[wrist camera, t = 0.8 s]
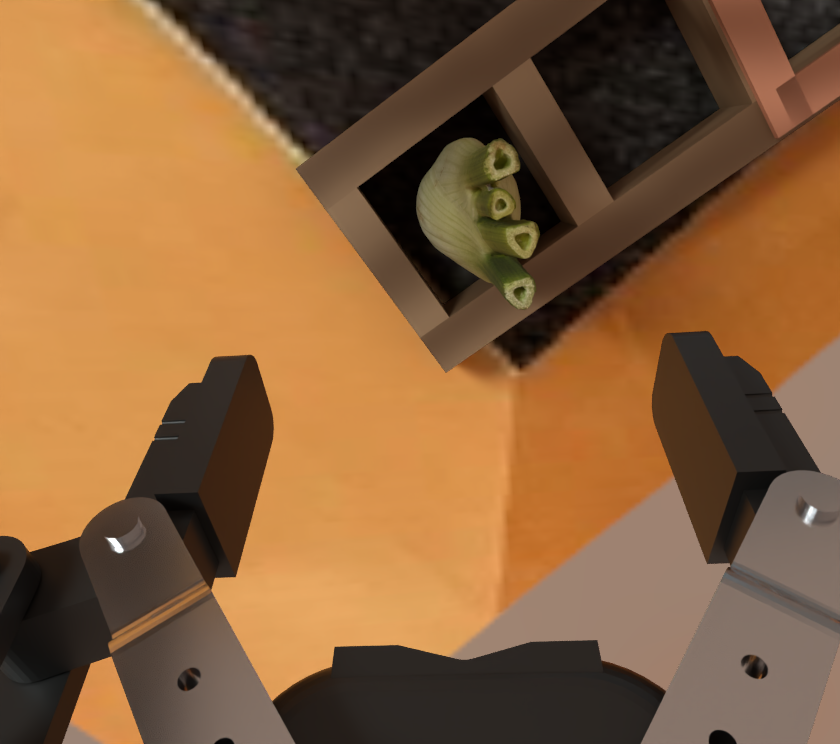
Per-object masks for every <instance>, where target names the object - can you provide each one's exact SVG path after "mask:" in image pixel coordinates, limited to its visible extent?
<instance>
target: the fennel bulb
mask: <svg viewBox="0 0 840 744" xmlns="http://www.w3.org/2000/svg"><path fill="white" fill-rule="evenodd" d="M519 170H520V161H519V158H518V154H517V152H516V150H515V148H514V147H513V146H512V145H510V144H509V143H507V142H506V141H505V140H503V139H501V138H499V139H497V140H493V141H492V142H491V143H488V144H487V146H485V145H483V144H482V143H481V142H480V141H478V140H477V139H474V138H462V139H459V140H456V141H454V142H452V143H450V144H448V145H447V146H446V147H445V148H444V149H443V151H442V152H441V153H440V155H439V156H438V158H437V160H436V161H435V163H434V164H433V166H432V167H431V168H430V169H429V171H428V172H427V173H426V175H425V176H424V177H423V179H422V181H421V183H420V186H419V189H418V194H417V201H416V212H417V216H418V220H419V223H420V226H421V228H422V231H423V232H424V234H425V235H426V237H427V238H428V239H429V241H430V242H431V243H432V245H433V246H434V247H435V248H436V249H437V250H439V251H440V252H441V253H443V254H444V255H446V256H447V257H449V258H450V259H452V260H453V261H455V262H456V263H457V264H459V265H460V266H462V267H463V268H465V269H467V270H468V271H470V272H471V273H473V274H474V275H476V276H477V277H479V278H481V279H482V280H484V281H486V282H488V283H492V284H493V285H494V286H495V287H496V288H497V289H498V290H499V292H500V293H501V294H502V296H503V297H504V298H505V300H507V301H508V302H509V303H510V305H512V306H514V307H515V308H516V309H520V310H525V309H528V308H529V307H530V305H531V304H532V299H533V296H534V293H535V292H536V284H535V280H534V278H533V277H532V276H531V275H530V274H529V273H528V272H527V271H526V270H525V269H524V268H523V266H522V265H521V264H520V263H519V261H518V260H517V258H521V259H527V258H529V257H531V255H532V254H533V252H534V250H535V248H536V245H537V243H538V239H539V237H540V231H539V228H538V226H537V224H536V223H535V222H533V221H526V220H524V219H523V220H520V215H521V204H520V196H519V192H518V187H517V184H516V181H515V179H514V177H513V175H512V174H514V173H516V172H518V171H519ZM516 257H517V258H516Z"/></svg>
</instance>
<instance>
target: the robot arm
mask: <svg viewBox="0 0 840 744" xmlns="http://www.w3.org/2000/svg"><path fill="white" fill-rule="evenodd" d="M652 412H653V419H654V423H655V426H656V429H657V432H658V434H659V437H660V440H661V442H662V445H663V448H664V450H665V453H666V456H667V458H668V461H669V464H670V466H671V469H672V472H673V474H674V477H675V480H676V482H677V485H678V488H679V490H680V493H681V496H682V498H683V501H684V504H685V506H686V509H687V512H688V514H689V517H690V520H691V522H692V525H693V528H694V530H695V533H696V536H697V538H698V541H699V543H700V546H701V549H702V552H703V554H704V557H705V559H706V562H707V564H714V563H715V564H717V563H730V565H731V567H728V568H727V570H726V571H725V573H724V575H723V577H722V579H721V581H720V583H719V585H718V587H717V589H716V591H715V593H714V596H713V597H712V599H711V601H710V604H709V606H708V608H707V610H706V612H705V614H704V616H703V618H702V620H701V622H700V624H699V626H698V628H697V630H696V632H695V634H694V636H693V638H692V640H691V642H690V644H689V646H688V649H687V651H686V653H685V654H684V657H683V659H682V661H681V663H680V665H679V667H678V669H677V671H676V673H675V675H674V677H673V679H672V681H671V683H670V685H669V687H668V689H667V691H665V690H664V689H662V688H661V687H660V686H658V685H656V684H655V683H653V682H651V681H650V680H649V679H647V678H645V677H644V676H641V675H639V674H637V673H635V672H633V671H631V670H629V669H627V668H624V667H621V666H618V665H615V664H613V663H609V662H605V661H601V656H600V652H599V647H598V642H597V640H588V641H549V642H530V643H526V644H522V645H519V646H516V647H512V648H508V649H505V650H501V651H498V652H495V653H491V654H488V655H484V656H481V657H477V658H474V659H469V660H459V659H454V658H450V657H446V656H442V655H437V654H433V653H429V652H425V651H420V650H416V649H412V648H408V647H403V646H399V645H387V646H347V647H335V648H334V656H333V664H332V667H330V668H327V669H324V670H321V671H319V672H317V673H314V674H312V675H310V676H308V677H306V678H304V679H302V680H300V681H299V682H297V683H295V684H294V685H292V686H291V687H289V688H288V689H287V690H285V691H284V692H282V693H281V694H280V695H279V696H278V697H276V698H275V699H274V700H273V701H271V699H270V697H269V695H268V693H267V691H266V690H265V688H264V686H263V684H262V682H261V681H260V679H259V677H258V675H257V673H256V671H255V670H254V668H253V666H252V664H251V662H250V661H249V659H248V657H247V655H246V653H245V651H244V650H243V648H242V646H241V644H240V642H239V641H238V639H237V637H236V635H235V633H234V631H233V630H232V628H231V626H230V624H229V622H228V621H227V619H226V617H225V615H224V613H223V611H222V610H221V608H220V606H219V604H218V602H217V601H216V599H215V597H214V595H213V593H212V592H211V589H212V585H213V582H214V579H215V578H223V577H236V574H237V570H238V567H239V563H240V559H241V556H242V552H243V548H244V544H245V541H246V537H247V533H248V530H249V526H250V522H251V519H252V515H253V511H254V507H255V504H256V500H257V496H258V493H259V489H260V485H261V482H262V478H263V474H264V470H265V467H266V463H267V459H268V456H269V452H270V448H271V444H272V440H273V430H274V426H273V415H272V411H271V407H270V404H269V401H268V397H267V394H266V391H265V387H264V384H263V381H262V378H261V374H260V371H259V368H258V364H257V362H256V359H255V358H254V356H252V355H240V356H222V357H214V358H213V359H212V360H211V362H210V364H209V367H208V369H207V371H206V374H205V376H204V378H203V381H202V383H189V384H188V385H187V386H186V387H185V388H184V389H183V390H182V391H181V392H180V393H179V394H178V395H177V396H176V397H175V398H174V399H173V400H172V401H171V402H170V405H169V407H168V409H167V411H166V413H165V415H164V417H163V419H162V425H160V426H159V428H158V430H157V432H156V434H155V437H154V438H155V440H154V441H152V443H151V445H150V447H149V449H148V451H147V454H146V456H145V458H144V460H143V462H142V464H141V466H140V468H139V471H138V473H137V475H136V477H135V479H134V481H133V483H132V486H131V488H130V490H129V492H128V494H127V496H126V498H125V500H122V501H119V502H117V503H115V504H112V505H110V506H109V507H107V508H105V509H104V510H102V511H101V512H100V513H98V514H97V515H96V516H95V517H94V518H93V519H92V520H91V521H90V522H89V523H88V525H87V526H86V528H85V529H84V531H83V533H82V535H81V537H78V538H75V539H72V540H69V541H66V542H62V543H59V544H56V545H52V546H49V547H46V548H42V549H39V550H36V551H32V552H29V551H28V550H27V548H26V547H25V546H24V544H23V543H22V542H21V541H20V540H18V539H16V538H14V537H9V536H0V744H62V742H63V739H64V736H65V734H66V731H67V728H68V725H69V723H70V720H71V717H72V714H73V711H74V709H75V706H76V703H77V700H78V697H79V695H80V692H81V689H82V686H83V683H84V681H85V678H86V675H87V672H88V669H89V667H90V664H91V663H93V662H96V661H99V660H102V659H105V658H108V657H111V656H112V659H113V662H114V664H115V667H116V670H117V672H118V675H119V678H120V680H121V683H122V686H123V689H124V691H125V694H126V697H127V699H128V702H129V705H130V707H131V710H132V713H133V716H134V718H135V721H136V724H137V726H138V729H139V732H140V735H141V737H142V740H143V743H144V744H807V743H808V740H809V737H810V733H811V730H812V727H813V724H814V721H815V718H816V714H817V712H818V708H819V705H820V702H821V699H822V696H823V693H824V690H825V687H826V683H827V680H828V677H829V674H830V671H831V668H832V665H833V662H834V658H835V655H836V652H837V649H838V645H839V643H840V480H839V479H837V478H834V477H832V476H829V475H826V474H823V473H821V472H820V471H819V469H818V467H817V466H816V464H815V462H814V461H813V459H812V457H811V456H810V454H809V453H808V451H807V449H806V448H805V446H804V444H803V443H802V441H801V439H800V438H799V436H798V434H797V433H796V431H795V429H794V428H793V426H792V425H791V423H790V421H789V420H788V418H787V416H786V415H785V414H784V413H782V408H781V407H780V405H779V403H778V402H777V400H776V398H775V397H772V392H771V390H770V388H769V387H768V385H767V383H766V382H765V380H764V379H763V377H762V375H761V374H760V372H758V371H757V370H756V369H754V368H753V367H752V366H750V365H749V364H748V363H747V362H745V361H744V360H743V359H741V358H740V357H739V356H728V357H724V356H723V355H722V353H721V351H720V349H719V348H718V346H717V344H716V342H715V340H714V339H713V337H712V335H711V334H710V333H709V332H708V331H700V332H682V333H667V334H666V335H665V336H664V338H663V341H662V346H661V351H660V356H659V362H658V367H657V372H656V378H655V383H654V388H653V394H652Z"/></svg>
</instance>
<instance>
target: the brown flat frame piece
mask: <svg viewBox="0 0 840 744" xmlns="http://www.w3.org/2000/svg"><path fill="white" fill-rule="evenodd" d="M606 1H607V0H516V1H515V2H513V3H512V4H511V5H509V6H508V7H507V8H506V9H504V10H503V11H502V12H500V13H499V14H498V15H496V16H495V17H494V18H492V19H491V20H490V21H488V22H487V23H486V24H485V25H483V26H482V27H481V28H479V29H478V30H477V31H475V32H474V33H473V34H471V35H470V36H469V37H468V38H466V39H465V40H464V41H462V42H461V43H460V44H458V45H457V46H456V47H454V48H453V49H452V50H451V51H449V52H448V53H447V54H445V55H444V56H443V57H441V58H440V59H439V60H437V61H436V62H435V63H434V64H432V65H431V66H430V67H428V68H427V69H426V70H424V71H423V72H422V73H420V74H419V75H418V76H416V77H415V78H414V79H413V80H411V81H410V82H409V83H407V84H406V85H405V86H403V87H402V88H401V89H399V90H398V91H397V92H396V93H394V94H393V95H392V96H390V97H389V98H388V99H386V100H385V101H384V102H382V103H381V104H380V105H379V106H377V107H376V108H375V109H373V110H372V111H371V112H369V113H368V114H367V115H365V116H364V117H363V118H362V119H360V120H359V121H358V122H356V123H355V124H354V125H352V126H351V127H350V128H348V129H347V130H346V131H344V132H343V133H342V134H341V135H339V136H338V137H337V138H335V139H334V140H333V141H331V142H330V143H329V144H327V145H326V146H325V147H324V148H322V149H321V150H320V151H318V152H317V153H316V154H314V155H313V156H312V157H310V158H309V159H308V160H307V161H305V162H304V163H303V164H301V165H300V166H299V167H297V168H296V170H297V171H298V173H299V174H300V176H301V177H302V178H303V180H304V181H305V182H306V184H307V185H308V186H309V188H310V189H311V190H312V192H313V193H314V195H315V196H316V197H317V199H318V200H319V201H320V203H321V204H322V205H323V207H324V208H325V209H326V211H327V212H328V214H329V215H330V216H331V218H332V219H333V220H334V222H335V223H336V224H337V226H338V227H339V228H340V230H341V231H342V232H343V234H344V235H345V237H346V238H347V239H348V241H349V242H350V243H351V245H352V246H353V247H354V249H355V250H356V251H357V253H358V254H359V256H360V257H361V258H362V260H363V261H364V262H365V264H366V265H367V266H368V268H369V269H370V270H371V272H372V273H373V275H374V276H375V277H376V279H377V280H378V281H379V283H380V284H381V285H382V287H383V288H384V289H385V291H386V292H387V294H388V295H389V296H390V298H391V299H392V300H393V302H394V303H395V304H396V306H397V307H398V308H399V310H400V311H401V313H402V314H403V315H404V317H405V318H406V319H407V321H408V322H409V323H410V325H411V326H412V327H413V329H414V330H415V332H416V333H417V334H418V336H419V337H420V338H421V340H422V341H423V342H424V344H425V345H426V346H427V348H428V349H429V351H430V352H431V353H432V355H433V356H434V357H435V359H436V360H437V361H438V363H439V364H440V365H441V367H442V368H443V369H444V371H445V372H448V371H449V370H451V369H452V368H454V367H455V366H456V365H458V364H459V363H461V362H462V361H464V360H465V359H467V358H468V357H469V356H471V355H472V354H474V353H475V352H477V351H478V350H480V349H481V348H482V347H484V346H485V345H487V344H488V343H490V342H491V341H493V340H494V339H495V338H497V337H498V336H500V335H501V334H503V333H504V332H505V331H507V330H508V329H510V328H511V327H513V326H514V325H516V324H517V323H518V322H520V321H521V320H523V319H524V318H526V317H527V316H529V315H530V314H531V313H533V312H534V311H536V310H537V309H539V308H540V307H542V306H543V305H544V304H546V303H547V302H549V301H550V300H552V299H553V298H555V297H556V296H557V295H559V294H560V293H562V292H563V291H565V290H566V289H567V288H569V287H570V286H572V285H573V284H575V283H576V282H578V281H579V280H580V279H582V278H583V277H585V276H586V275H588V274H589V273H591V272H592V271H593V270H595V269H596V268H598V267H599V266H601V265H602V264H604V263H605V262H606V261H608V260H609V259H611V258H612V257H614V256H615V255H617V254H618V253H619V252H621V251H622V250H624V249H625V248H627V247H628V246H629V245H631V244H632V243H634V242H635V241H637V240H638V239H640V238H641V237H642V236H644V235H645V234H647V233H648V232H650V231H651V230H653V229H654V228H655V227H657V226H658V225H660V224H661V223H663V222H664V221H666V220H667V219H668V218H670V217H671V216H673V215H674V214H676V213H677V212H679V211H680V210H681V209H683V208H684V207H686V206H687V205H689V204H690V203H691V202H693V201H694V200H696V199H697V198H699V197H700V196H702V195H703V194H704V193H706V192H707V191H709V190H710V189H712V188H713V187H715V186H716V185H717V184H719V183H720V182H722V181H723V180H725V179H726V178H728V177H729V176H730V175H732V174H733V173H735V172H736V171H738V170H739V169H741V168H742V167H743V166H745V165H746V164H748V163H749V162H751V161H752V160H753V159H755V158H756V157H758V156H759V155H761V154H762V153H764V152H765V151H766V150H768V149H769V148H771V147H772V146H774V145H775V144H777V143H778V142H779V141H781V140H782V139H784V138H785V137H787V136H788V135H790V134H791V133H792V132H794V131H795V130H797V129H798V128H800V127H801V126H803V125H804V124H805V123H807V122H808V121H810V120H811V119H813V118H814V117H815V116H817V115H818V114H820V113H821V112H823V111H824V110H826V109H827V108H828V107H830V106H831V105H833V104H834V103H836V102H837V101H839V100H840V24H838V25H837V26H836V27H834V28H833V29H831V30H830V31H829V32H827V33H826V34H824V35H823V36H822V37H820V38H819V39H817V40H816V41H814V42H813V43H812V44H810V45H809V46H807V47H806V48H805V49H803V50H802V51H800V52H799V53H798V54H796V55H795V56H793V57H792V58H790V59H789V60H788V59H787V57H786V54H785V52H784V50H783V48H782V46H781V44H780V41H779V39H778V37H777V35H776V33H775V31H774V29H773V26H772V24H771V22H770V20H769V18H768V16H767V13H766V11H765V9H764V7H763V5H762V3H761V0H665V2H666V4H667V6H668V8H669V10H670V12H671V14H672V16H673V18H674V20H675V22H676V24H677V26H678V27H679V29H680V31H681V33H682V35H683V37H684V39H685V41H686V43H687V45H688V47H689V49H690V51H691V53H692V55H693V57H694V59H695V61H696V63H697V65H698V67H699V69H700V71H701V73H702V75H703V77H704V79H705V81H706V83H707V85H708V87H709V89H710V91H711V93H712V95H713V97H714V99H715V101H716V102H717V104H718V106H719V108H720V109H719V110H717V111H716V112H714V113H713V114H712V115H710V116H709V117H707V118H706V119H704V120H703V121H702V122H700V123H699V124H697V125H696V126H695V127H693V128H692V129H690V130H689V131H688V132H686V133H685V134H683V135H682V136H680V137H679V138H678V139H676V140H675V141H673V142H672V143H671V144H669V145H668V146H666V147H665V148H664V149H662V150H661V151H659V152H658V153H656V154H655V155H654V156H652V157H651V158H649V159H648V160H647V161H645V162H644V163H642V164H641V165H640V166H638V167H637V168H635V169H634V170H633V171H631V172H630V173H628V174H627V175H625V176H624V177H623V178H621V179H620V180H618V181H617V182H616V183H614V184H613V185H611V186H610V187H609V188H606V187H605V185H604V183H603V182H602V180H601V178H600V176H599V175H598V173H597V171H596V170H595V168H594V166H593V164H592V163H591V161H590V159H589V158H588V156H587V154H586V153H585V151H584V149H583V147H582V146H581V144H580V142H579V141H578V139H577V137H576V135H575V134H574V132H573V130H572V129H571V127H570V125H569V123H568V122H567V120H566V118H565V117H564V115H563V113H562V112H561V110H560V108H559V106H558V105H557V103H556V101H555V100H554V98H553V96H552V94H551V93H550V91H549V89H548V88H547V86H546V84H545V82H544V81H543V79H542V77H541V76H540V74H539V72H538V71H537V69H536V67H535V65H534V64H533V62H532V60H531V59H530V58H531V57H532V56H533V55H535V54H536V53H537V52H539V51H540V50H541V49H543V48H544V47H545V46H547V45H548V44H549V43H551V42H552V41H553V40H555V39H556V38H557V37H559V36H560V35H561V34H563V33H564V32H565V31H567V30H568V29H569V28H571V27H572V26H573V25H575V24H576V23H577V22H579V21H580V20H581V19H583V18H584V17H585V16H587V15H588V14H589V13H591V12H592V11H593V10H595V9H596V8H598V7H599V6H600V5H602V4H603V3H604V2H606ZM481 94H483V96H484V98H485V99H486V101H487V103H488V104H489V106H490V107H491V109H492V111H493V112H494V114H495V115H496V117H497V119H498V120H499V122H500V124H501V125H502V127H503V128H504V130H505V132H506V133H507V135H508V136H509V138H510V140H511V141H512V143H513V145H514V146H515V148H516V149H517V151H518V153H519V154H520V156H521V157H522V159H523V161H524V162H525V164H526V166H527V167H528V169H529V170H530V172H531V174H532V175H533V177H534V178H535V180H536V182H537V183H538V185H539V187H540V188H541V190H542V191H543V193H544V195H545V196H546V198H547V199H548V201H549V203H550V204H551V206H552V208H553V209H554V211H555V212H556V214H557V216H558V217H559V219H560V220H561V222H559V223H558V224H556V225H555V226H554V227H552V228H551V229H549V230H548V231H546V232H545V233H544V234H542V235H541V236H540V237H539V239H538V243H537V245H536V248H535V250H534V252H533V254H532V255H531V257H529V258H527V259H521V258H517V257H516V258H517V260H518V261H519V263H520V264H521V265H522V266H523V268H524V269H525V270H526V271H527V272H528V273H529V274H530V275H531V276H532V277H533V278H534V280H535V284H536V292H535V293H534V296H533V299H532V304H531V305H530V307H529V308H528V309H525V310H520V309H516V308H515V307H514V306H512V305H510V303H509V302H508V301H507V300H505V298H504V297H503V296H502V294H501V293H500V292H499V290H498V289H497V288H496V287H495V286H494V285H493V284H492V283H488V282H486V281H484V280H482V279H481V278H480V279H479V280H477V281H476V282H475V283H473V284H472V285H470V286H469V287H467V288H466V289H465V290H463V291H462V292H460V293H459V294H458V295H456V296H455V297H453V298H452V299H451V300H449V301H448V302H446V303H445V304H444V305H443V304H442V303H441V302H440V300H439V299H438V297H437V296H436V295H435V293H434V292H433V290H432V289H431V288H430V286H429V285H428V283H427V282H426V281H425V279H424V278H423V276H422V275H421V273H420V272H419V271H418V269H417V268H416V266H415V265H414V264H413V262H412V261H411V259H410V258H409V257H408V255H407V254H406V252H405V251H404V250H403V248H402V247H401V245H400V244H399V243H398V241H397V240H396V238H395V237H394V236H393V234H392V233H391V231H390V230H389V229H388V227H387V226H386V224H385V223H384V221H383V220H382V219H381V217H380V216H379V214H378V213H377V212H376V210H375V209H374V207H373V206H372V205H371V203H370V202H369V200H368V199H367V198H366V196H365V195H364V193H363V192H362V191H361V189H360V188H359V186H360V185H361V184H363V183H364V182H365V181H367V180H368V179H369V178H371V177H372V176H373V175H375V174H376V173H377V172H379V171H380V170H381V169H383V168H384V167H385V166H387V165H388V164H389V163H391V162H392V161H393V160H395V159H396V158H397V157H399V156H400V155H401V154H403V153H404V152H405V151H407V150H408V149H409V148H411V147H412V146H413V145H415V144H416V143H417V142H419V141H420V140H421V139H423V138H424V137H425V136H427V135H428V134H429V133H431V132H432V131H433V130H435V129H436V128H437V127H439V126H440V125H441V124H443V123H444V122H445V121H447V120H448V119H449V118H451V117H452V116H453V115H455V114H456V113H457V112H459V111H460V110H461V109H463V108H464V107H465V106H467V105H468V104H469V103H471V102H472V101H473V100H475V99H476V98H477V97H479V96H480V95H481Z"/></svg>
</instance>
